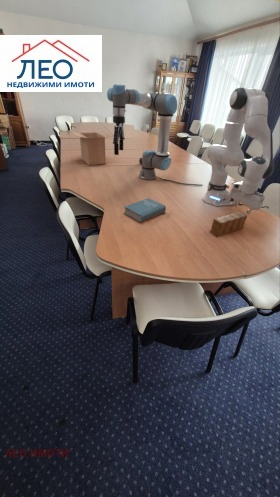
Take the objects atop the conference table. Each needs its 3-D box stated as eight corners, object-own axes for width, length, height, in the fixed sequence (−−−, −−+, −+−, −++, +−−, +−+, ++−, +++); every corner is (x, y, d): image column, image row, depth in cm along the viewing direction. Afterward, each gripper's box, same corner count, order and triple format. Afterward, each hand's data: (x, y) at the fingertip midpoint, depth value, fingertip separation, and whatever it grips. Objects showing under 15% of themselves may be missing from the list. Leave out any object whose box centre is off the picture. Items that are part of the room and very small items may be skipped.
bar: (216, 236, 129) (220, 223, 124) (209, 232, 133) (213, 218, 127) (242, 228, 139) (247, 215, 134) (235, 224, 143) (240, 211, 138)
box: (116, 165, 229) (116, 136, 213) (83, 168, 214) (80, 137, 198) (102, 154, 259) (101, 128, 243) (71, 156, 244) (68, 129, 228)
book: (148, 204, 158) (148, 197, 155) (165, 212, 149) (166, 206, 146) (124, 213, 145) (124, 206, 142) (141, 223, 136) (141, 216, 133)
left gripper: (120, 118, 125) (120, 157, 138) (129, 114, 145) (128, 148, 158) (107, 117, 126) (108, 156, 139) (118, 113, 146) (117, 147, 158)
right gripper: (269, 194, 119) (259, 216, 127) (238, 180, 132) (231, 201, 141) (261, 196, 116) (252, 219, 125) (231, 182, 130) (225, 204, 138)
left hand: (118, 152), depth 148 cm, fingers open, 13 cm apart
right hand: (241, 209), depth 133 cm, fingers open, 8 cm apart
